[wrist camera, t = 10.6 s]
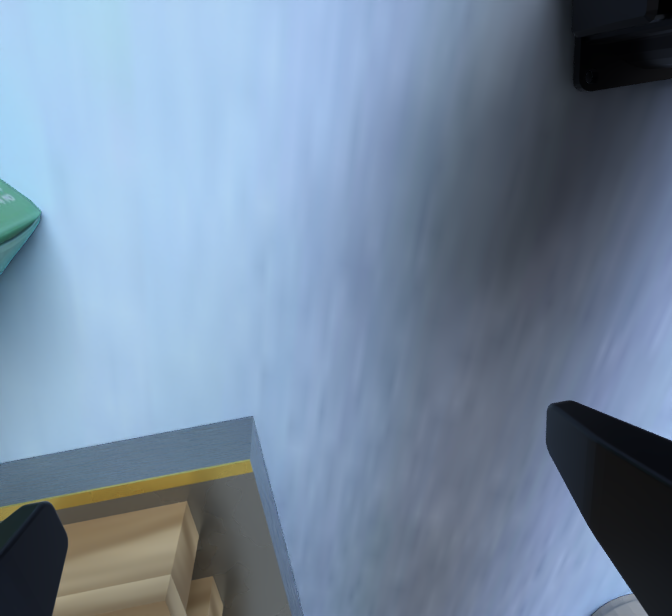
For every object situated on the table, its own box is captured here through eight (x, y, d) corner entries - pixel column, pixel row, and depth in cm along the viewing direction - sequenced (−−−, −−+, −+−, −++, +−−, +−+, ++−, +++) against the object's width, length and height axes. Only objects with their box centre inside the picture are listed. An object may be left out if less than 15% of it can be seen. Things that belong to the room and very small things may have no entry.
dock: (252, 416, 23) (247, 494, 18) (303, 616, 29) (309, 715, 24) (-34, 469, 22) (-113, 564, 18) (75, 664, 28) (35, 775, 23)
